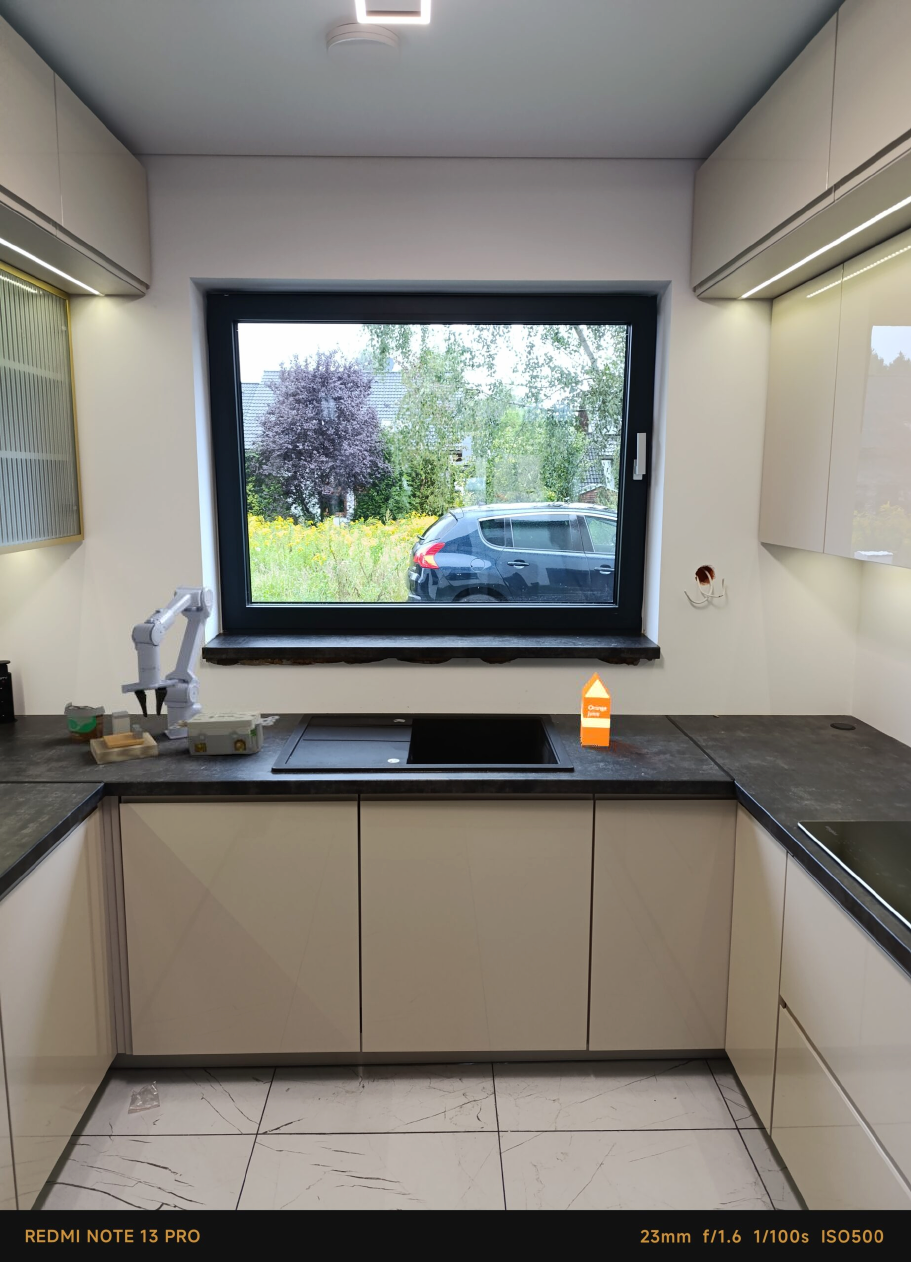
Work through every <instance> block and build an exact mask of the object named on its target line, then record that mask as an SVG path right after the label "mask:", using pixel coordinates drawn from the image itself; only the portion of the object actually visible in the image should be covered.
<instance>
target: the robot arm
mask: <svg viewBox="0 0 911 1262" xmlns="http://www.w3.org/2000/svg"><path fill="white" fill-rule="evenodd" d="M214 603H215V596H214V592H213V590H212V588H211V587H209V586H184V585H180V586H178V587H177V588H176V589H174V593H173V598H171V600H170V602H168V604H167V605H166V606H165V607H164V608H163V607H161V608H156V610H155V611H154V612H153V614H151V615H150V616H149V617H148V618H147V619H146V620H145V621H144V622H142V623H141V622H140V623H137V624H136V625H135V626H134V627H133V628H132V633H131V640H132V643H134V650H135V651H136V653H137V669H138V671H137V673H138V682H133V683H128V684H122V685H121V693H122V694H128V693H134V696H135V697H136V698H137V701H138V703H139V705H140V708H141V711H142V716H143V718H148V709H147V708H148V707H147V694H146V691H152V690H154V695H155V710H156V711H155V712H156V716H161V714H162V709H163V704H164V706H166V715H167V716H166V717H167V730H164V733H165V735H166V736H167V737H168V738H169V739H170V740H174V739H179V738H188V737H187V729H188V728H187V727H181V728H179V729H176V730H170V729H169V727H172V726H174V724H177V722H178V721H180V720H190V719H192V718H193V717H194V716H196V715H197V714H203V710H202V705H201V703H200V702H197V701H198V700H199V695H200V684H201V682H200V679H199V678H198V677H197V676H196V675H195V674H194V672H195V668H196V665H197V664H196V663H197V659H198V656H199V652H200V648H201V645H202V640H203V637H204V633H205V630H206V627H207V621H208V619H209V618H210V617H211V614H212V611H213V607H214ZM180 613H181V615H182V616H183V617H185V618H186V619H187V623H186V628H185V631H184V635H183V639H182V642H181V646H180V649H179V654H178V658H177V661H176V664H175V668H174V670H172V671H171V672H169V673H168V674H166V675H165V677H164V679H162V670H161V669H162V667H161V653H160V652H161V651H160V650H161V648H160V644H162V643H163V640H164V637H165V635H166V632H167V630H169V629H170V628H171V627H172V626H173V624H174V623H175V617H176V616H178V615H179V614H180Z"/></svg>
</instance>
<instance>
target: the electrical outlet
mask: <svg viewBox="0 0 911 1262" xmlns="http://www.w3.org/2000/svg"><path fill="white" fill-rule="evenodd" d="M279 718H280V716H279V715H278V716H277V715H274V716H269V717H267V718H263V717H261V711H260V710H259V711H257V710H256V711H255V710H254V711H234V712H231V711H230V712H210V713H209V712H207V713H206V712H205V713H203V712H202V714H197V715H196V716H194V717H193V718H192V719H190V720H180V721H178V722H177V724H174V726H172V727H169V729H170V730H176V729H179V728H181V727H187V728H188V729H187V737H186V738H187V742H188V750H189V753H190V755H191V756H205V755H208V756H209V755H210V756H211V755H232V754H234V755H235V754H236V755H237V754H243V755H251V754H255V753H259V752H260V751H261V749H262V745H263V744H264V736H263V735H264V734H263V733H264V732H263V727H269V726H273V725H274V723H275V722H276V720H278V719H279Z"/></svg>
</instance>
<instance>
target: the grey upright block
mask: <svg viewBox="0 0 911 1262" xmlns="http://www.w3.org/2000/svg"><path fill="white" fill-rule="evenodd" d="M111 721H112V722H111V723H112V735H117V734H124V733H131V723H130V721H131V719H130V713H129V712H128V711H127V710H122V711H113V712H112V711H111Z"/></svg>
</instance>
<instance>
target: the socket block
mask: <svg viewBox="0 0 911 1262" xmlns="http://www.w3.org/2000/svg"><path fill="white" fill-rule="evenodd" d="M143 740H144V743H142V744H134V745H127V746H120V747H113V748H108V747H107V745H106V743H105V742H104V740H103V738H100V739H93V740H90V743H89V745H90V752H91V753H92V755H93V757H94V758H95V760H96V762H97V765H101V764H108V763H114V762H115V763H116V762H121V761H128V760H129V761H130V760H135V759H141V758H142V759H143V758H147V757H155V756H159V753H158V752H159V751H158V744H157V742H156V741H155V740H154V738H153V737H152V736H151V735H150V733H149V732H148V731H146V732H143Z"/></svg>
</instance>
